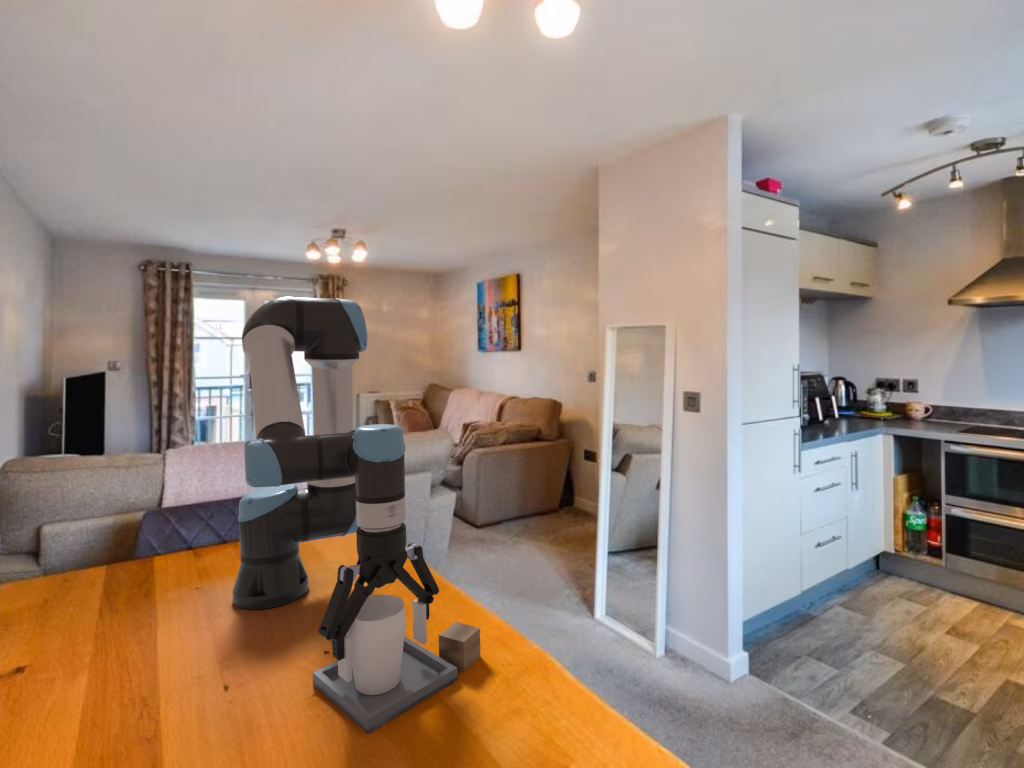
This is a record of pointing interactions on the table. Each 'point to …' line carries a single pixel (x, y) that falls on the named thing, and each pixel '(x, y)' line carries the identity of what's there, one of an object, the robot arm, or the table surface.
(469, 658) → the walnut cube
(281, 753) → the table surface
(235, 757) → the table surface
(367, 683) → the cup
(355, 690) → the tray
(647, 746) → the table surface
